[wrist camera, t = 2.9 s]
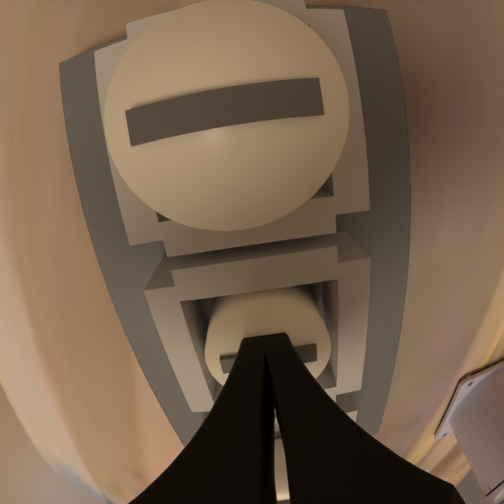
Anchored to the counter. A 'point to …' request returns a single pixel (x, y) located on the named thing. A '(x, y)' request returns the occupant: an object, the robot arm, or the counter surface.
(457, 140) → the counter surface
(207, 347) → the knob
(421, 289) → the counter surface
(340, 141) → the knob
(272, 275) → the mount board
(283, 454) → the knob
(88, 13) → the counter surface
